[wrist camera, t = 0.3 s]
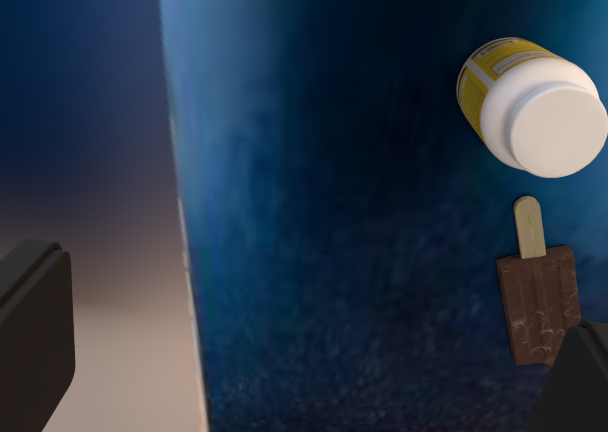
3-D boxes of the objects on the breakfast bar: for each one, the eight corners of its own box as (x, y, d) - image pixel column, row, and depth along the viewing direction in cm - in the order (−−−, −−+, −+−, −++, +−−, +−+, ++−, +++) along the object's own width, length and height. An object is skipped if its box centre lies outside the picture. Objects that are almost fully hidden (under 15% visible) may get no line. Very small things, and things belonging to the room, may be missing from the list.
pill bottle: (509, 145, 40) (564, 214, 30) (436, 99, 39) (468, 154, 29) (571, 68, 38) (654, 115, 28) (495, 16, 37) (552, 45, 27)
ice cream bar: (484, 201, 42) (512, 362, 48) (490, 211, 41) (517, 375, 47) (560, 184, 41) (578, 350, 47) (568, 193, 40) (586, 363, 46)
